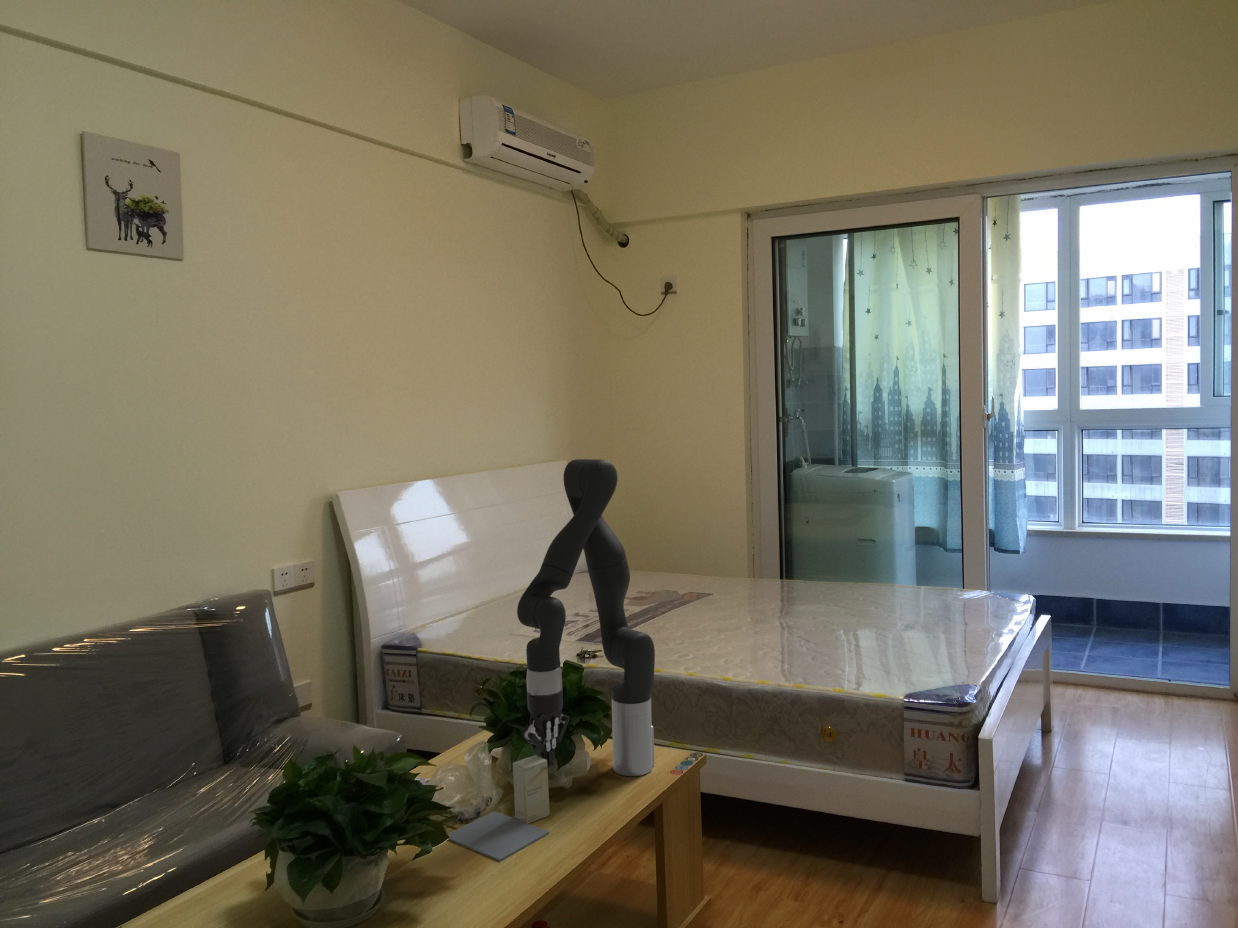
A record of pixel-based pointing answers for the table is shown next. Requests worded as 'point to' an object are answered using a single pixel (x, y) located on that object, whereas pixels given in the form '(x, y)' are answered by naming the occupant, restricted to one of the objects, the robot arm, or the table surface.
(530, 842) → the slate mat
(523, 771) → the skincare box
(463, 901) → the table surface
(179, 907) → the table surface
